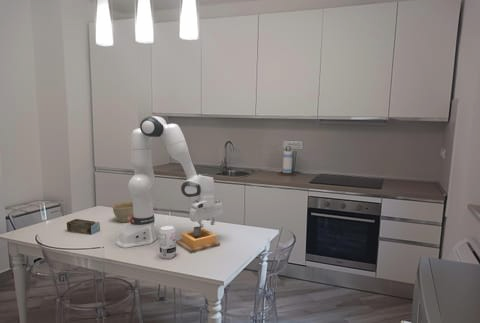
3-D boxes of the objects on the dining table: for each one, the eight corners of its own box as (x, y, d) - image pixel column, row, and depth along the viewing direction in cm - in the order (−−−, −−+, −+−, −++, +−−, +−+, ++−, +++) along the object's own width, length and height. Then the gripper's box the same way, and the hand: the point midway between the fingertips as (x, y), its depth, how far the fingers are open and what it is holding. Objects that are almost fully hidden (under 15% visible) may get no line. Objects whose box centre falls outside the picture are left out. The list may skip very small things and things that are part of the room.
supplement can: (161, 253, 178) (160, 225, 176) (177, 252, 179) (176, 224, 177) (158, 259, 170) (157, 230, 168) (175, 259, 171) (174, 230, 169)
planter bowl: (116, 217, 240) (115, 202, 239) (140, 216, 242) (139, 201, 241) (110, 224, 224) (109, 208, 223) (135, 223, 226) (135, 207, 225)
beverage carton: (91, 235, 205) (90, 224, 204) (66, 232, 211) (65, 221, 210) (100, 231, 212) (100, 220, 212) (76, 228, 219) (75, 218, 218)
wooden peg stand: (191, 253, 178) (190, 235, 177) (175, 242, 192) (175, 226, 191) (220, 245, 189) (219, 228, 187) (203, 236, 203) (203, 220, 202)
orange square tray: (194, 248, 181) (193, 240, 181) (181, 240, 192) (181, 233, 192) (216, 242, 189) (216, 235, 189) (203, 235, 200) (203, 228, 200)
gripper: (219, 198, 200) (219, 221, 202) (187, 203, 188) (188, 228, 189) (225, 200, 195) (225, 223, 197) (193, 206, 183) (194, 231, 184)
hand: (207, 226), depth 193 cm, fingers open, 6 cm apart
